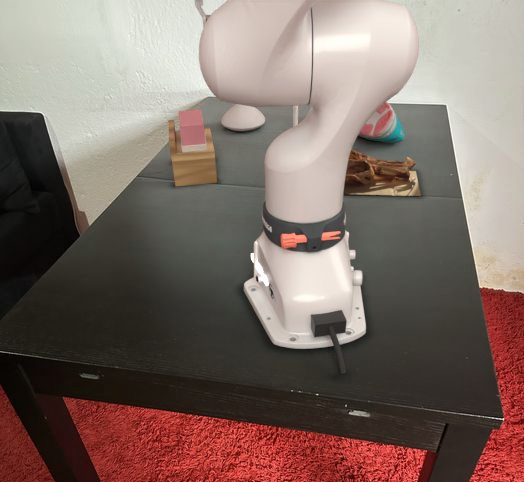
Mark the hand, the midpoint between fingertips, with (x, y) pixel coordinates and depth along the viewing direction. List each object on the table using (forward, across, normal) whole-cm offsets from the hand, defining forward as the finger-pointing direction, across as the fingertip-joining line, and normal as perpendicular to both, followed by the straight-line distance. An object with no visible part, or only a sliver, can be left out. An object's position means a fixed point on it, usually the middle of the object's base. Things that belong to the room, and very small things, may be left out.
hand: (233, 25), depth 94 cm
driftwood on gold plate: (+29, +23, -5) cm, 38 cm away
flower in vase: (+29, +4, +32) cm, 43 cm away
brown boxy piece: (+29, -10, +6) cm, 31 cm away
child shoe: (+22, -10, +6) cm, 25 cm away
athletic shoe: (+29, +32, +21) cm, 48 cm away
